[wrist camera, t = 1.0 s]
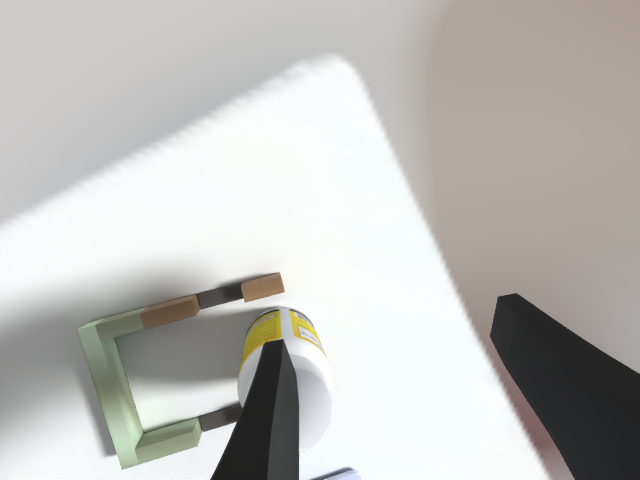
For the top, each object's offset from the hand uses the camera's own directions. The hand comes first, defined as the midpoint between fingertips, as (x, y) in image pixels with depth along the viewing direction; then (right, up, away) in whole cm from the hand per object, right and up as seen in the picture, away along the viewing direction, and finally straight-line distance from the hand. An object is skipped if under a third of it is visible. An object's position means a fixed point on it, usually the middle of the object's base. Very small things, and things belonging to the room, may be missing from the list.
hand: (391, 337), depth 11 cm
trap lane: (-9, -5, +11) cm, 15 cm away
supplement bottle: (-5, -4, +11) cm, 13 cm away
